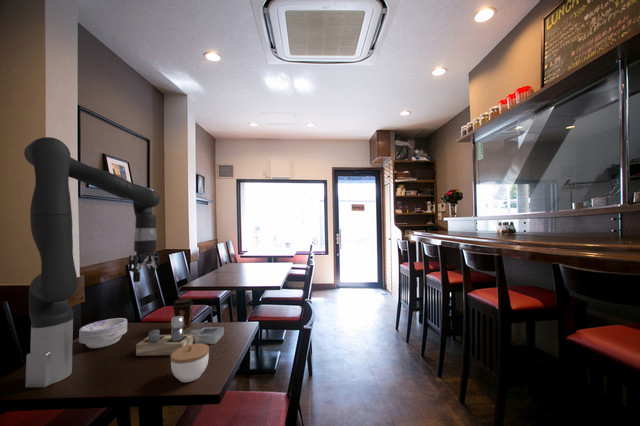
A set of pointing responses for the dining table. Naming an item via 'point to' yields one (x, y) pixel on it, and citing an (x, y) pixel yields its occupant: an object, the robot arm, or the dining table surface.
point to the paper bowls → (103, 332)
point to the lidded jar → (189, 362)
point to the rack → (160, 344)
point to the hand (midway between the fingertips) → (144, 279)
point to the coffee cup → (184, 311)
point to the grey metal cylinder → (177, 329)
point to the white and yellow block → (190, 332)
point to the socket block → (208, 335)
